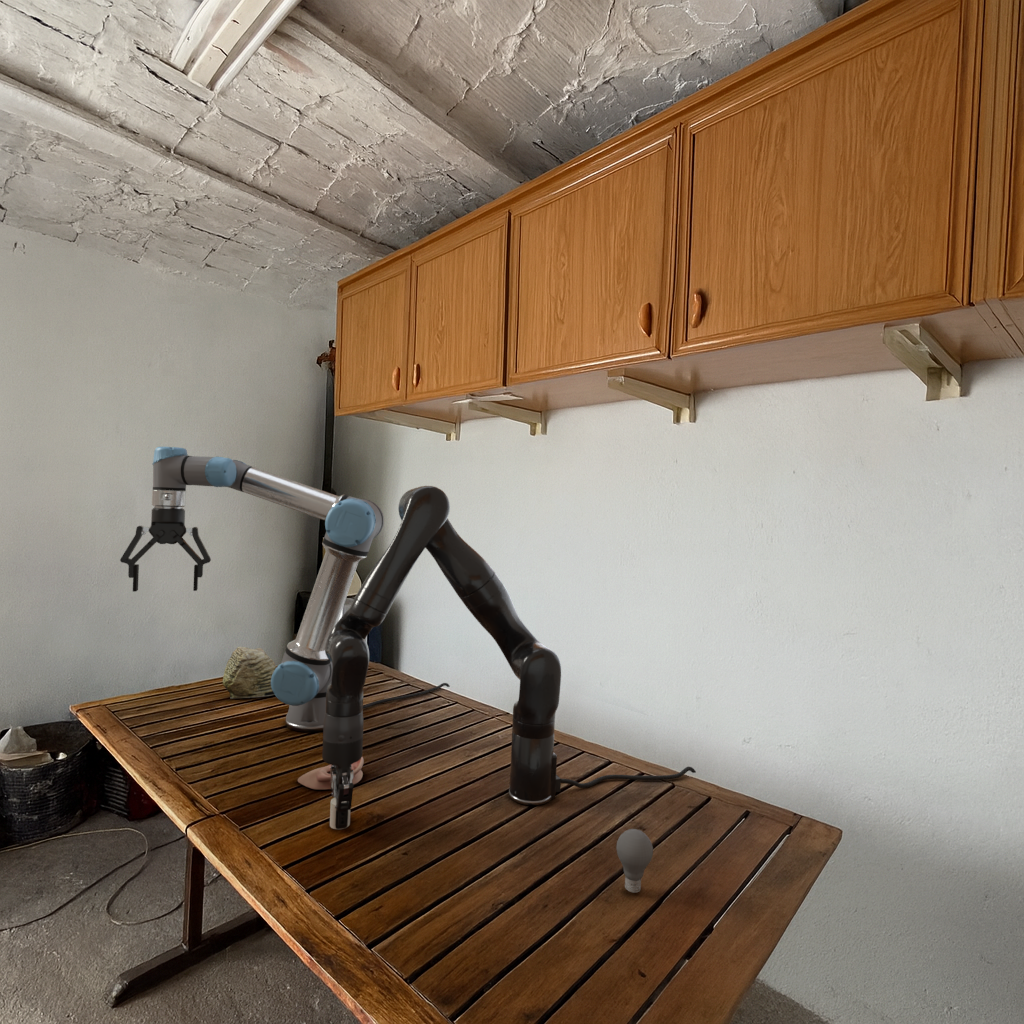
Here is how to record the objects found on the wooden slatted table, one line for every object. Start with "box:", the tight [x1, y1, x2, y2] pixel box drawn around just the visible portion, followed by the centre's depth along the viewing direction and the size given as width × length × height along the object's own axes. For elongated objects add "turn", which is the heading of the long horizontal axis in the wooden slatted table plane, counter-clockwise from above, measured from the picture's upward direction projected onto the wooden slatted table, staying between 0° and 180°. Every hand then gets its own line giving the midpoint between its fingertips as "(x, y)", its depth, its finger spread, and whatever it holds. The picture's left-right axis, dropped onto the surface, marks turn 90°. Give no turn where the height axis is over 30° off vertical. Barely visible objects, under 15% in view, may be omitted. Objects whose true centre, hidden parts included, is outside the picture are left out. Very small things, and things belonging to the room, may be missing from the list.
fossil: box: [222, 646, 277, 699], centre depth 198 cm, size 9×18×15 cm, turn 132°
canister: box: [329, 797, 351, 830], centre depth 123 cm, size 4×4×5 cm
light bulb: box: [615, 828, 654, 894], centre depth 106 cm, size 6×6×10 cm
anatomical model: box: [297, 756, 364, 791], centre depth 142 cm, size 13×4×12 cm
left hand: (165, 590), depth 162 cm, fingers open, 13 cm apart
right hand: (339, 821), depth 123 cm, fingers closed on canister, 3 cm apart
